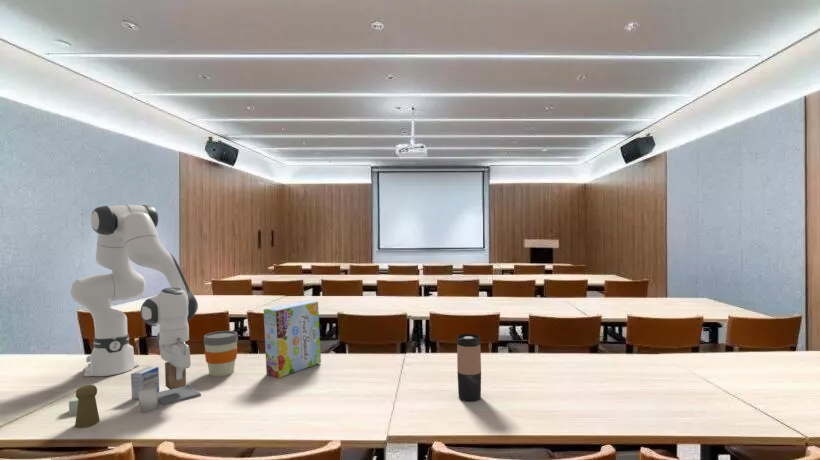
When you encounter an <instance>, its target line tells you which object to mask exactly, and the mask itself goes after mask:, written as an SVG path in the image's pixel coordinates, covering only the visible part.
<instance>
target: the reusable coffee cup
mask: <svg viewBox="0 0 820 460" xmlns="http://www.w3.org/2000/svg"><path fill="white" fill-rule="evenodd" d="M238 341H239V337H238V332H237V331H235V330H234V331H233V330H221V331H219V330H218V331H214V332H209V333H206V334H205V335H203V345H204V348H205V349H204V357H205V362H206V363H207V367H208V375H209V376H210V377H224V376H229V375H231V374H233V373H235V365H236V364H235V363H236V360H237V356H238V346H237V345H238Z"/></svg>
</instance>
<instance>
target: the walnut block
mask: <svg viewBox="0 0 820 460" xmlns="http://www.w3.org/2000/svg"><path fill="white" fill-rule="evenodd" d="M186 371H187V368H186V369H183V373H182V379H179V380H177V379H176V378H175V374H176V367H174V366H173V365H171V364H170V363H168V362H166V361H165V362H164V375H165V377H164V378H165V387H166V388H167V389H168V390H171V389H175V388H179V387H184V386H186V385H187V372H186Z"/></svg>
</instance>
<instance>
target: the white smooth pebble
mask: <svg viewBox="0 0 820 460" xmlns="http://www.w3.org/2000/svg"><path fill="white" fill-rule="evenodd" d="M138 406H139V409H138V410H139V412H140V413H142V414H143V413H145V414H146V413H151V412H154V411H156V410H157V409H158V401H157V388H146V389H143V390H140V391H139V399H138Z"/></svg>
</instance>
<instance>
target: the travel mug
mask: <svg viewBox="0 0 820 460" xmlns="http://www.w3.org/2000/svg"><path fill="white" fill-rule="evenodd" d="M456 340H457V341H456V345H457V347H456V352H457V353H456V358H457V360H456V362H457V364H456V365H457V372H456V373H457V385H458V386H457V389H458V399H459V400H461V401H463V402H468V403H469V402H471V403H473V402H477V401H480V400H481V397H482V356H481V355H482V353H481V350H482V349H481V336H480V335H479V334H475V333H462V334H458V335H457V337H456Z"/></svg>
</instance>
